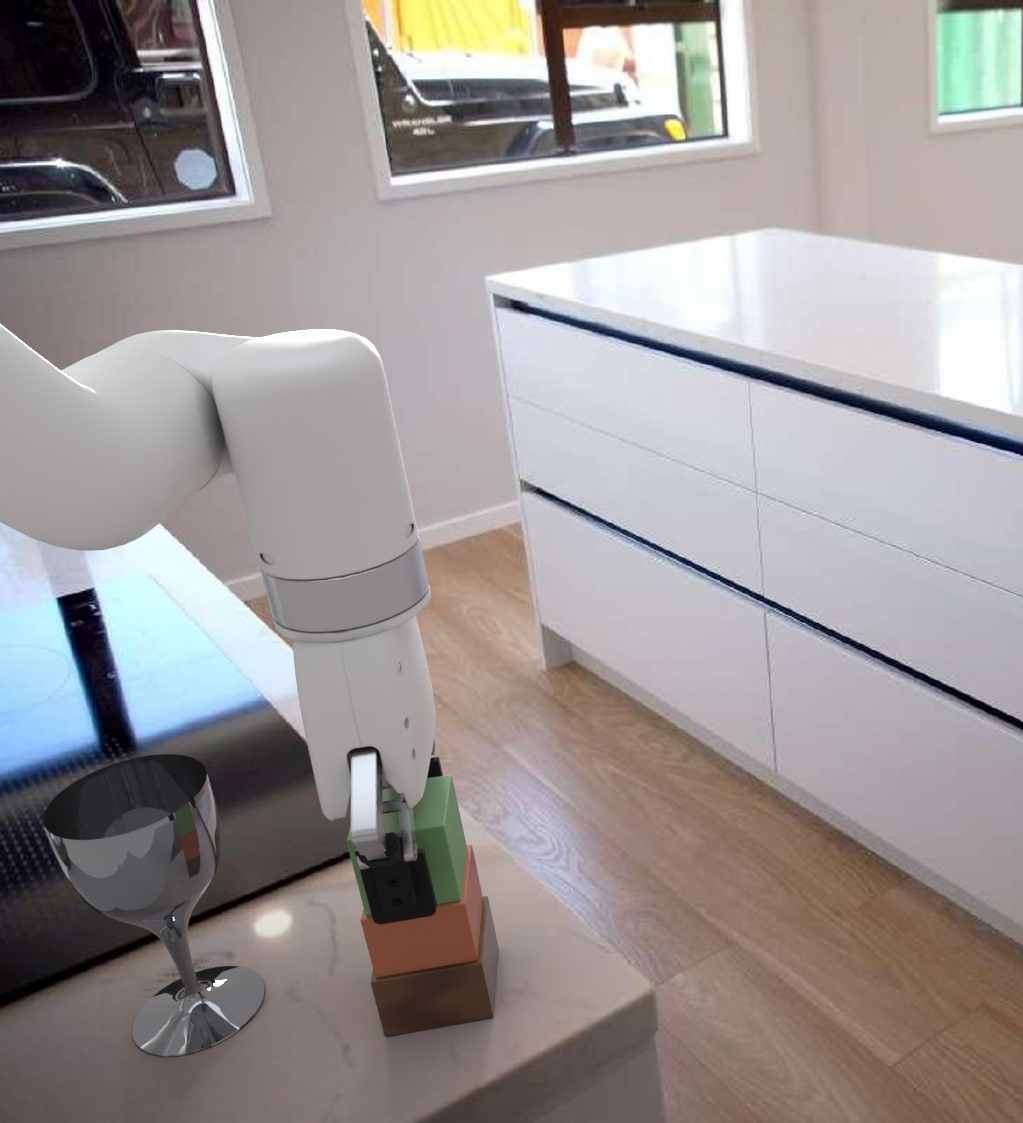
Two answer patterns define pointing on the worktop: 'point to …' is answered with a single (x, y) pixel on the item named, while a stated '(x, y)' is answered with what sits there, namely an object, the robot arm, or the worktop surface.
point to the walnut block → (441, 989)
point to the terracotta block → (430, 932)
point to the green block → (430, 838)
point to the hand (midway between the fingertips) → (414, 865)
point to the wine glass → (155, 885)
